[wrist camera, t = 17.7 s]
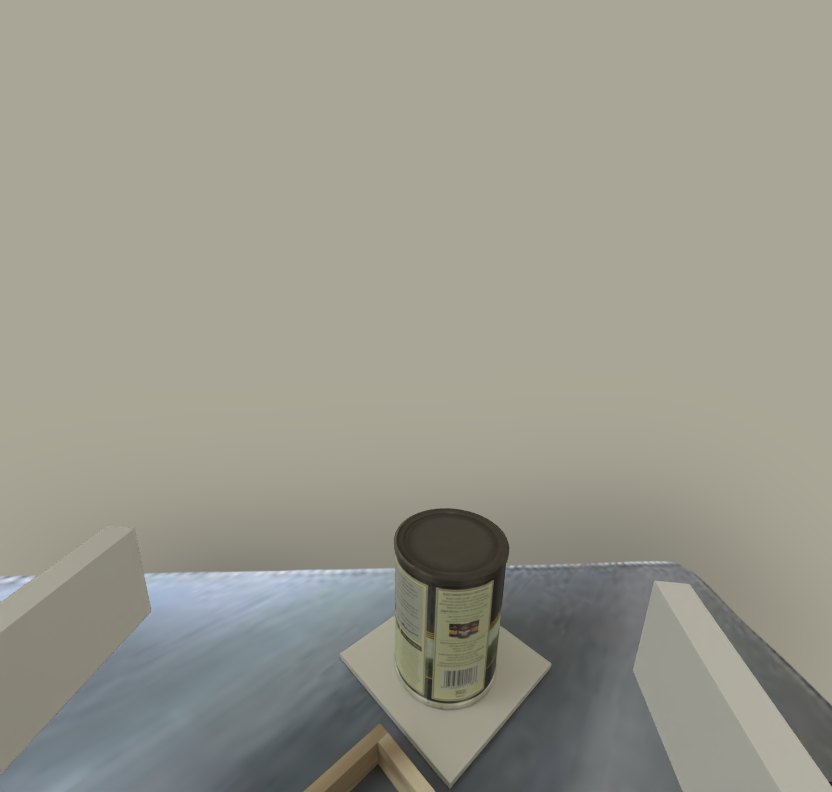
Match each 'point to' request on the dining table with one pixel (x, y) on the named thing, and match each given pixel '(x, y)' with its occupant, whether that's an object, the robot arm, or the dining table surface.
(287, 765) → the dining table surface
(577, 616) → the dining table surface
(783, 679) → the dining table surface
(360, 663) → the white square board
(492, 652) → the coffee can
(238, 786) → the dining table surface
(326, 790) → the birch frame
